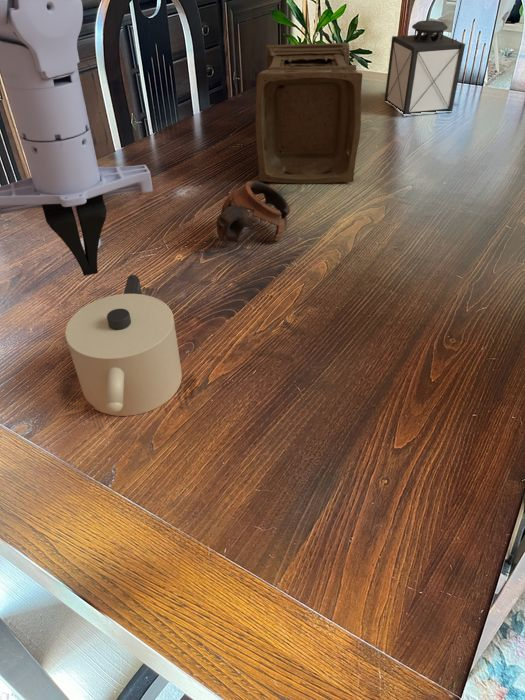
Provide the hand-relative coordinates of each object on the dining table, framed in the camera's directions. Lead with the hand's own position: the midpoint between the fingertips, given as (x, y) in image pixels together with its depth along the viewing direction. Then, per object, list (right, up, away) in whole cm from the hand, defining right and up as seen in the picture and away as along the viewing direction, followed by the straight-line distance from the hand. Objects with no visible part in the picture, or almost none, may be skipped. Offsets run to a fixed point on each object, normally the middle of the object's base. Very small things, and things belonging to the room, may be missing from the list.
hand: (89, 269), depth 55 cm
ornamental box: (+25, +31, +51) cm, 64 cm away
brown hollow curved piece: (+15, +8, +24) cm, 29 cm away
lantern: (+51, +46, +68) cm, 97 cm away
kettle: (+4, -11, -1) cm, 12 cm away
